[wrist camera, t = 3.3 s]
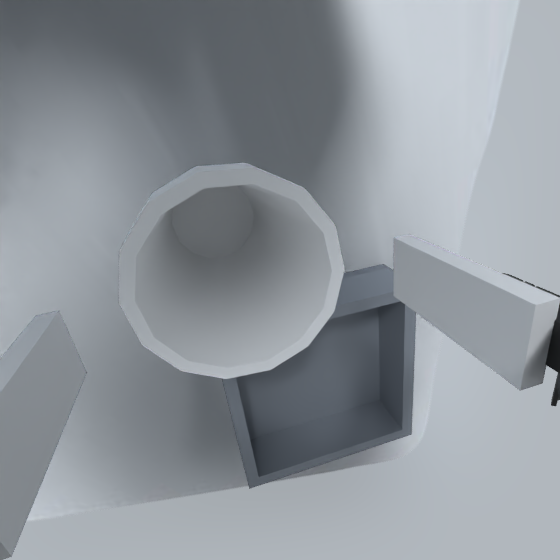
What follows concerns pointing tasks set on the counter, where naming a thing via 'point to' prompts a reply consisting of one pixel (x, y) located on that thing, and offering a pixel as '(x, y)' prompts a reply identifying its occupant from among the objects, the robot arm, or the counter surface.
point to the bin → (331, 386)
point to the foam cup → (229, 271)
